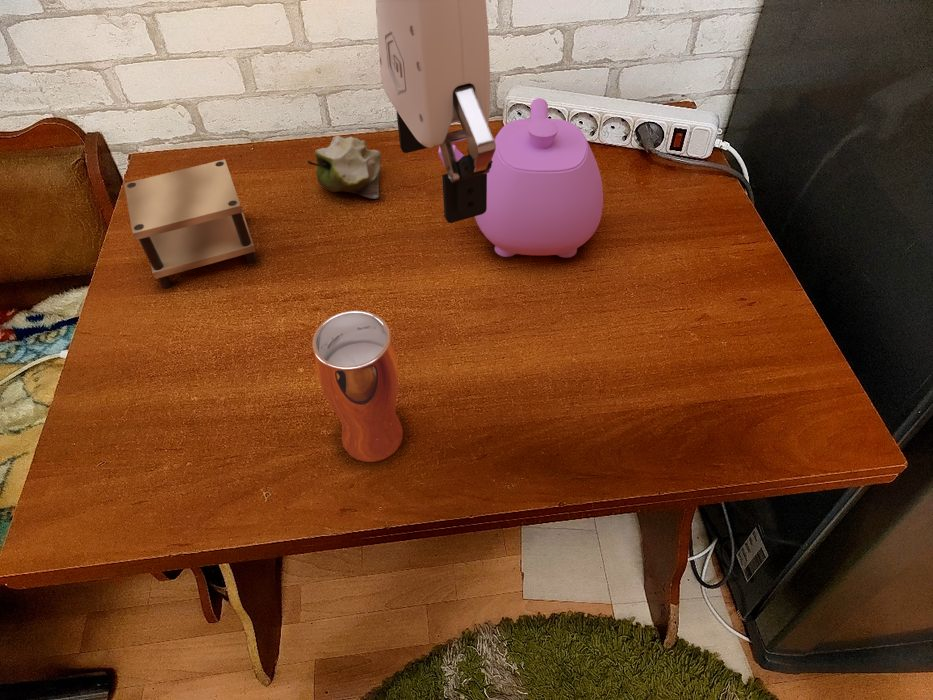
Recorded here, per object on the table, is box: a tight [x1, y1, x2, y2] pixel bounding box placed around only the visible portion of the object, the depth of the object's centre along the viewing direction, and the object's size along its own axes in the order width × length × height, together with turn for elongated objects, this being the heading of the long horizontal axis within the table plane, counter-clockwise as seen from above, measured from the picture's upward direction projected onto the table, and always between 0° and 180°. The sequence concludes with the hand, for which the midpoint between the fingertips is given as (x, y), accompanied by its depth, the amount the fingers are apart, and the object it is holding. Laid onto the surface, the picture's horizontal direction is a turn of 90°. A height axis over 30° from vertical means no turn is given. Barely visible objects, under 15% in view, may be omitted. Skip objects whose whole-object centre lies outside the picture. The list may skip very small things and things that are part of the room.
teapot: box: [437, 97, 604, 259], centre depth 84 cm, size 20×20×15 cm
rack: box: [123, 158, 258, 289], centre depth 83 cm, size 12×10×9 cm
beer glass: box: [311, 309, 404, 463], centre depth 63 cm, size 7×7×15 cm
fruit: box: [307, 135, 382, 200], centre depth 93 cm, size 9×9×8 cm
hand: (441, 180), depth 54 cm, fingers open, 9 cm apart
